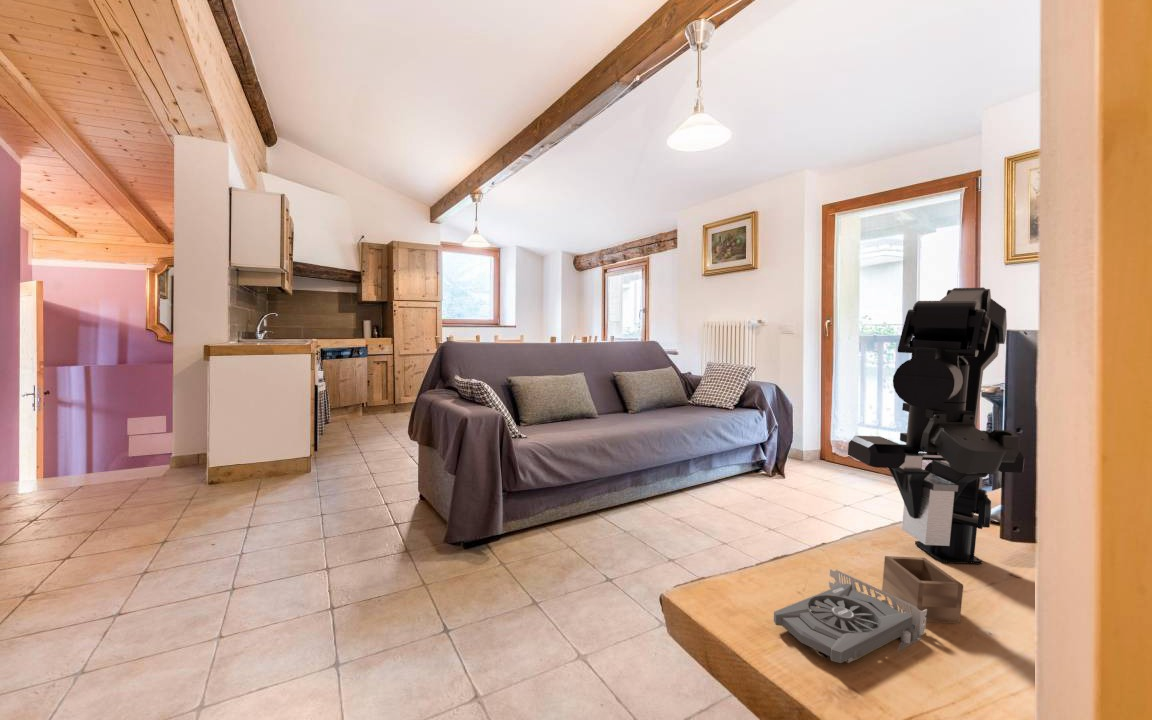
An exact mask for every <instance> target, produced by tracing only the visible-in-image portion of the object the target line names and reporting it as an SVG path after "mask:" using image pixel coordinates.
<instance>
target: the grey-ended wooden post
mask: <svg viewBox="0 0 1152 720" xmlns="http://www.w3.org/2000/svg"><path fill="white" fill-rule="evenodd" d="M954 492H958V485H957V484H954V483H952V482H950V481H948V480H945V479H943V478H941V477H939V476H936V475H934V474H932V473H930V474H929V475H928V476H927V477H926V478H925V479H924V480H923V481H922V490H921V502H920V511H919V515H918V518H917V519H914V518H912V517H911V516H910V515H909V513H908V511H907V508H906V506H905V503H904V502H903V513H902V514H903V515H902V524H901V530H902V531H904V532H905V533H906V534H909V536H911V537H913V538H914V539H915V540H916V541H920V542H922V543H923V544H925V545H940V546H949V544H950V534H951V524H952V513H953V503H954Z"/></svg>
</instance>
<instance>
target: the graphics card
mask: <svg viewBox="0 0 1152 720" xmlns="http://www.w3.org/2000/svg"><path fill="white" fill-rule="evenodd" d="M829 577H831V578H833V580H834V582H833V581H830V580H829V582H828V586H829V587H828V588H830V589H827V590H825V591H823V592H820V593H817V594H815V595H812V596H809V597H807V598H805V599H802V600H799V601H798V602H795V603H792V604H790V605H786V606H785V607H782V608H780V609H777V610H774V612H773V622H774V624H775V625H776V626H782V627H783V628H784V630H786V631H787V632H788V633H790V635H792V636H793V637H794V638H795V639H796V640H797V641H799V642H800V643H802V644H804V645H806V646H807V647H810V648H812V649H814V650H816V651H818V652H817V653H818V654H819V655H821V656H823V657H824V658H826V659H827V658H830V660H831V661H832V662H835V663H839V664H842V663H844V662H846V663H848V664H849V663H851V662H853V661H856V660H858V659H861V658H862V657H864V656H866V655H868V654H870V653H873V651H875V650H877V649H879V648H881V647H883V646H884V645H887V644H889V643H890V642H892V641H894V640H896V639H898V638H900V639H899V640H900V642H899V645H898V648H897V650H896V653H898V652H899V651H902V650H904V649H905V648H907V647H908V646H911V645H913V644H914V643H917V642H918V641H920V640H922V639H923V637H922V636H923V635H925V634H926V631H925V630H926V629H927V622H926V618H925V616H926V614H927V609H925V610H923V611H920V610H919V609H918V608H917V607H916V606H914V605H912V604H910V603H907V602H905V601H903V600H901V599H899V598H897V597H895V596H892V595H890V594H888V593H886V592H884V591H882V589H880V588H877V587H875V586H874V585H871V584H868V583H867V582H864V581H862V580H860V579H859V578H856V577H853V576H851V575H849V574H847V573H845V572H843V571H841V570H838V569H835V570H832V569H829ZM856 583H858V587H859V589H860V591H858V589H857V584H856ZM863 586H864V587H865V589H866V592H867V594H866V593H865V591H864V587H863ZM870 589H871V590H873V592H874V596H872V593H871V590H870ZM881 596H884V599H879V597H881ZM888 598H889V599H890V601H891V603H889V599H888ZM897 600H898V604H899V606H898V605H897ZM900 602H901V604H902V608H901V606H900ZM903 603H904V605H905V610H906V612H905V611H904V605H903ZM906 605H908V610H909V612H907V607H906ZM910 607H911V610H912V615H911V613H910ZM912 616H913V618H912ZM923 621H924V622H923Z"/></svg>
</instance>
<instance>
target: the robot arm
mask: <svg viewBox="0 0 1152 720" xmlns="http://www.w3.org/2000/svg"><path fill="white" fill-rule="evenodd" d="M1007 319H1008V318H1007V309H1006V308H1005V307H1004V306H1002V305H1000V304H999V303H998V302H997V301H995V300H994V299H993V298H992V296H991V289H990V288H985V287H954V288H952V289H948V290H947V292H946V295H945V296H944V297H943V298H941V299H940V300H917V301H916V302H915V303H914V305H913V306H912V309H908V310H907V312H906V316H905V320H904V324H903V325H902V326H903V327H902V329H901V330H902V331H901V335H900V339H899V342H898V346H897V353H899V354H901V353H902V354H911V358H910V359H908V360H905V362H903V363H901V364H900V365H899V366H898V367H897V369H896V371H895V372H894V375H893V377H892V387H893V389H894V391H895V393H896V395H897V396H898V397H899V399H901V400H902V401H903V402H902V411H904V412H908V416H907V417H908V418H907V429H906V432H900V434H899V441H900V442H903V444H901V443H897V442H895V441H892V440H890V439H887V438H885V437H882V436H881V435H880V436H875V435H854V436H853V437H852V438H851V440H850V441H849V442H848V446H847V455H848V456H849V457H852V458H853V459H855V460H857V461H859V462H860V463H863V464H865V465H867V466H869V467H872V468H879V469H881V468H882V469H888V470H889V472H890V474H891V475H892V478H893V479H894V481H895V483H896V486H897V488H898V491H899V493H900V496H901V498H902V501H903V504H904V503H905V506H906V508H907V511H908V513H909V515H910V516H911V517H912V518H914V519H917V518H918V515H919V511H920V502H921V490H922V481H923V480H924V479H925V478H926V477H927V476H928V475H929V474H930V473H932V474H934V475H936V476H939V477H941V478H943V479H945V480H948V481H950V482H952V483H954V484H957V485H958V492H954V503H953V513H952V524H951V534H950V544H949V546H940V545H925V544H923V543H922V542H920V541H919V540H915V542H914V544H915V546H917V547H918V548H920V549H922V550H923V551H925V552H926V553H928V554H929V555H930V556H932V557H933V558H935V559H936V560H938V561H939V562H942V563H953V564H955V563H956V564H975V565H978V564H979V565H982V564H983V559H981V558H979V557H977V556H976V555H975V553H976V552H975V551H976V543H977V542H976V540H977V531H978V529H979V530H983V528H990V527H991V516H992V500H991V499H989V497H988V494H987V490H986V489H983V481H984V478H986V477H988V476H989V475H996V474H997V472H1001V473H1017V474H1018V473H1019V474H1020V473H1021V474H1022V473H1024V465H1025V457H1024V456H1023V454H1022V453H1021V451H1020V436H1019V435H1017V434H1016V433H1015V432H1013V431H1012V430H1007V429H994V430H992V431H989V430H980V429H978V428H977V426H978V425H977V423H978V418H979V417H978V415H979V410H980V409H979V408H980V400H981V391H982V384H983V383H982V382H983V375H984V371H985V370H986V368H987V367H989V365H991V363H992V362H994V361H995V359H996V358H997V357H998V356H999V349H1000V345H1002V344H1003V345H1004V344H1005V342H1006V337H1007V325H1008V324H1007V323H1008V322H1007V321H1008V320H1007ZM904 443H905V444H904ZM923 461H930V462H928V464H927V465H926V466H925V467H924V469H923Z"/></svg>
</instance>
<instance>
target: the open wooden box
mask: <svg viewBox="0 0 1152 720" xmlns="http://www.w3.org/2000/svg"><path fill="white" fill-rule="evenodd" d="M882 573H883V574H882V585H881V587H882V588H881V590H882V591H884V592H886V593H888V594H890V595H892V596H895V597H897V598H899V599H901V600H903V601H905V602H907V603H910V604H912V605H914V606H916V607H917V608H918V609H919V610H920V611H923V610H925V609H927V614H926V616H925V618H926V623H942V624H944V623H945V624H960V623H961V614H962V603H963V595H964V594H963V593H964V583H961V582H960V581H958V580H957V579H955V577H952V575H950V574H949V573H947V572H946V571H944V570H943V569H941V568H940V567H938V566H937V565H935V564H934V563H933V562H932V561H930V560H928V558H926V557H918V556H917V557H916V556H895V555H893V556H889V555H884V561H883V572H882ZM903 605H904V603H903ZM897 606H898V607H899V604H898V600H897ZM900 606H901V609H902V604H901V602H900ZM906 607H907V612H909V610H908V605H906ZM904 612H906V610H905V605H904ZM910 613H911V615H912V610H911V607H910ZM912 618H913V616H912ZM923 623H924V621H923Z"/></svg>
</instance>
